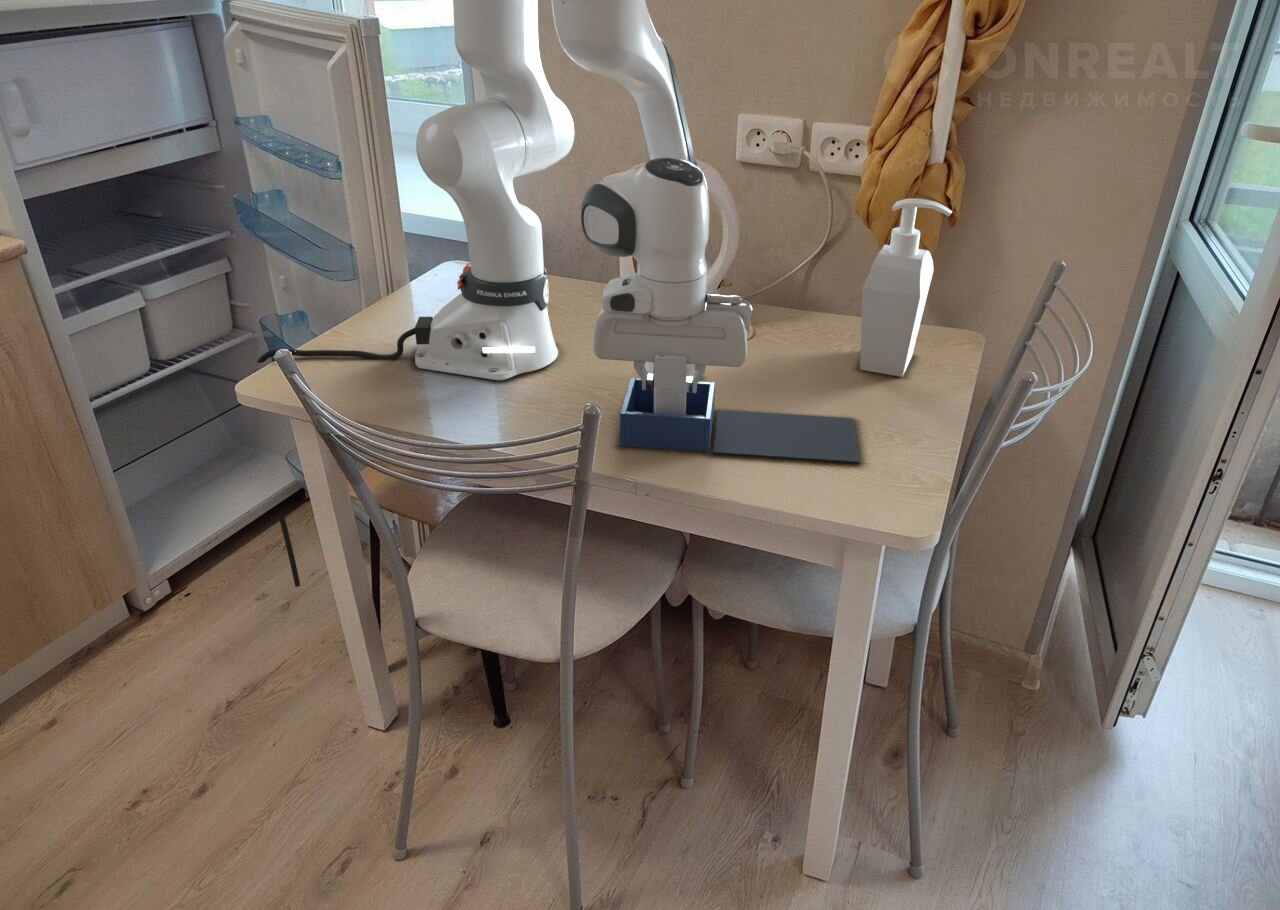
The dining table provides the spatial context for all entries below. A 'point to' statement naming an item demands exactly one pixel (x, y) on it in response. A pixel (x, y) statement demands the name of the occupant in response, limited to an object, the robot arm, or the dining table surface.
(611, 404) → the dining table surface
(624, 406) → the bin
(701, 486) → the dining table surface
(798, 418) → the mat
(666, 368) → the cosmetic box
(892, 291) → the soap bottle
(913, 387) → the dining table surface
